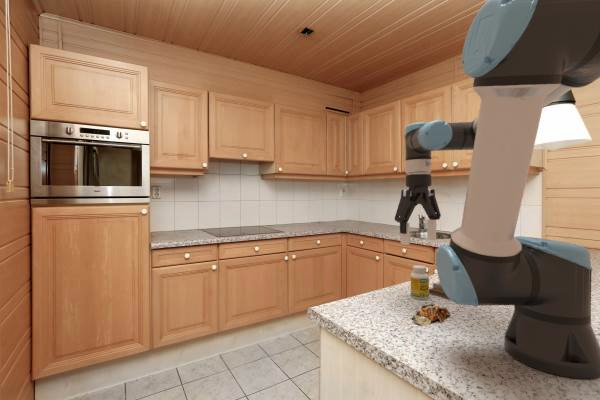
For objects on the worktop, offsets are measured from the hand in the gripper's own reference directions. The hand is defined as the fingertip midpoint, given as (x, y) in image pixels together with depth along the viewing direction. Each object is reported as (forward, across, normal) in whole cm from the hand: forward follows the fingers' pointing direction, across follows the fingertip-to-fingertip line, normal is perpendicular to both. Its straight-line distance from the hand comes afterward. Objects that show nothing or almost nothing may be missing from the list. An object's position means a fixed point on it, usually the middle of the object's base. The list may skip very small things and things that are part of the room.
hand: (419, 242), depth 95 cm
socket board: (+17, +11, -5) cm, 21 cm away
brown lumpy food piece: (+18, -12, -12) cm, 24 cm away
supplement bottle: (+18, 0, 0) cm, 18 cm away
